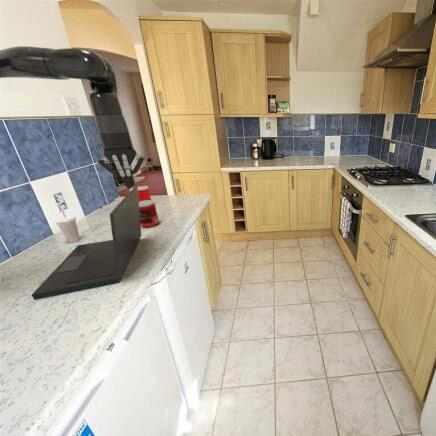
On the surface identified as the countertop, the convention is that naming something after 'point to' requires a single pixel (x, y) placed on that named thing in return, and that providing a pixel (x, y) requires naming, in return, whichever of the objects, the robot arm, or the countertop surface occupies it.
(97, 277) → the laptop
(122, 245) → the laptop screen
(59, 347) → the countertop surface
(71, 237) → the smoothie
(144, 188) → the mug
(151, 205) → the canned food
